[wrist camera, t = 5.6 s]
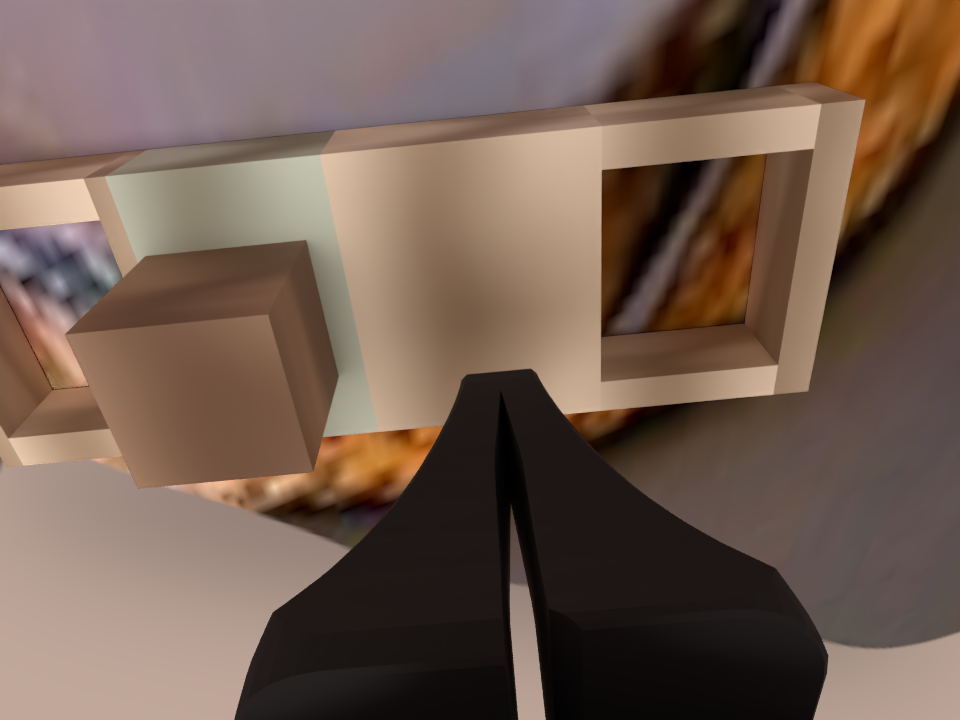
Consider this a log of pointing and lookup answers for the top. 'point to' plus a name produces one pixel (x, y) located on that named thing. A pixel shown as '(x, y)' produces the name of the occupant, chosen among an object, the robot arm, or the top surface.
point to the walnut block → (212, 364)
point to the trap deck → (461, 252)
